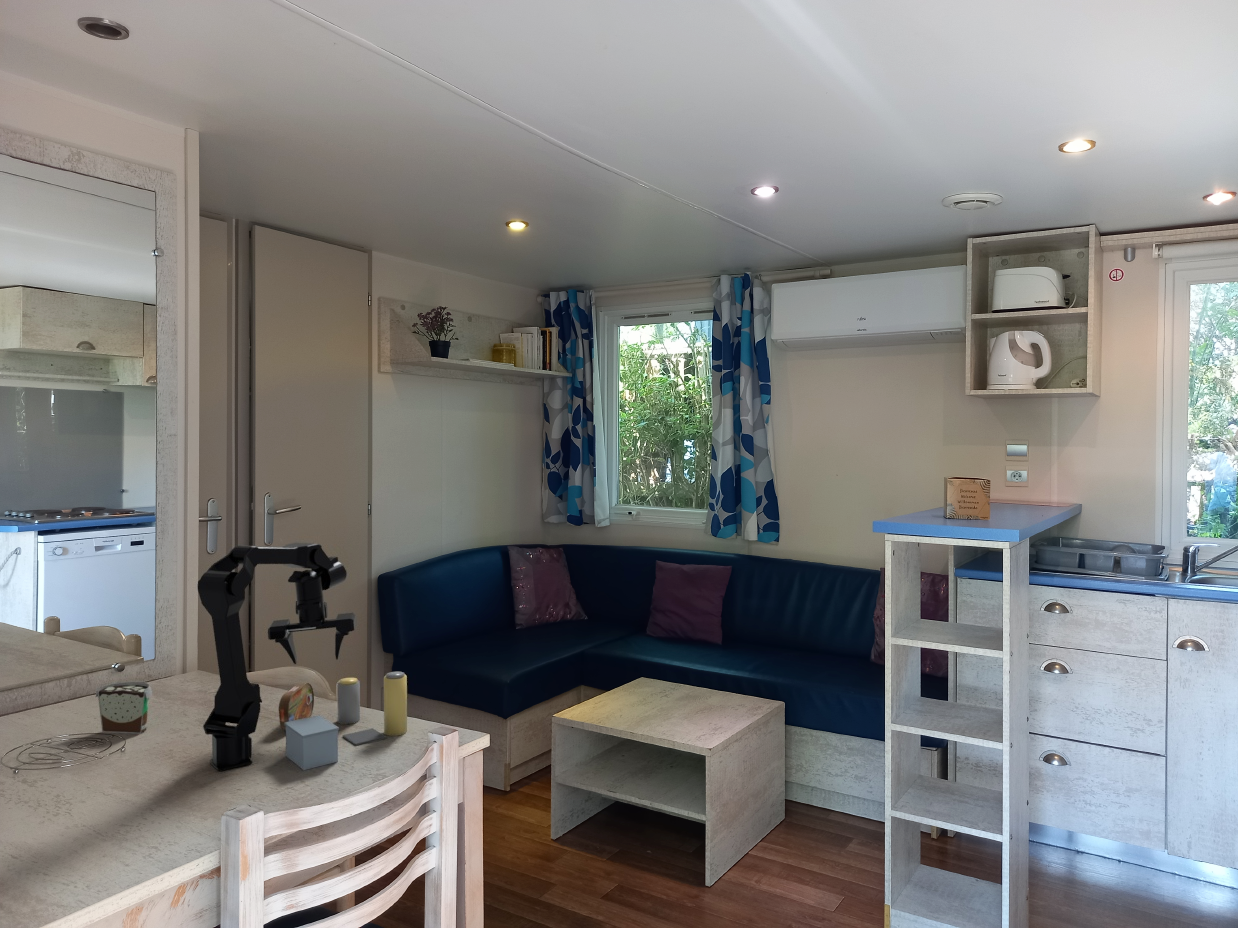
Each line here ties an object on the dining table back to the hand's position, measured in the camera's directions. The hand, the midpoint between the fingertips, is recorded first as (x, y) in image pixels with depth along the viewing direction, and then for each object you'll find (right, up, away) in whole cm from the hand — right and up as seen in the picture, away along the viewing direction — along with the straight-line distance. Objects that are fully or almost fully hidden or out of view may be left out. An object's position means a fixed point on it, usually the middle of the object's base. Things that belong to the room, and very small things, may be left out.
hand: (316, 661), depth 198 cm
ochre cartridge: (+20, -15, -6) cm, 25 cm away
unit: (+7, -15, -22) cm, 28 cm away
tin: (-5, -15, 0) cm, 15 cm away
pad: (+14, -15, -10) cm, 22 cm away
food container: (-41, -15, -4) cm, 44 cm away
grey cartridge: (+7, -14, +2) cm, 16 cm away
